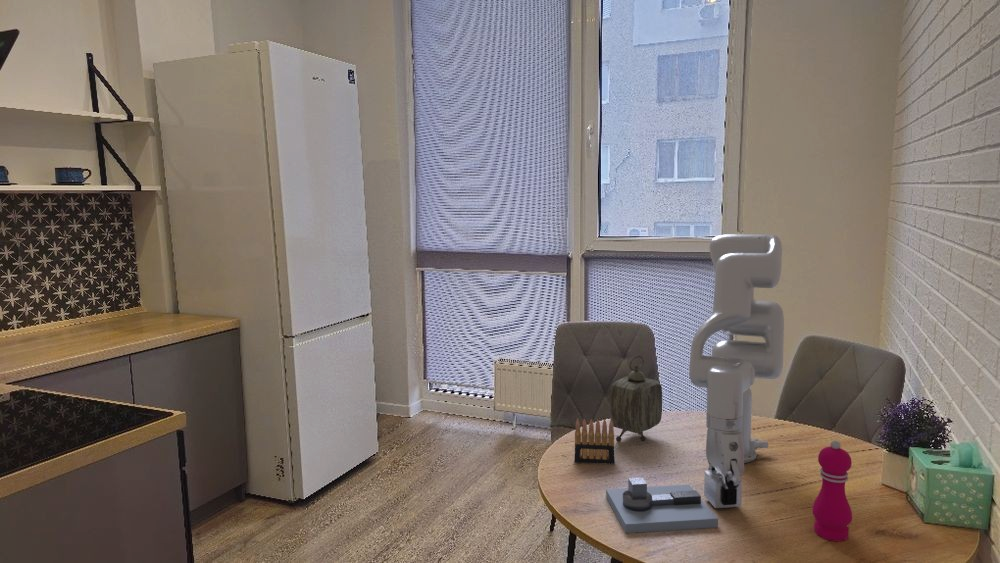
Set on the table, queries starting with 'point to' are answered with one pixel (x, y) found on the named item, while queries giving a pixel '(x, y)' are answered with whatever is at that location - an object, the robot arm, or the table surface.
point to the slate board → (661, 513)
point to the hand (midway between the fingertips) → (722, 496)
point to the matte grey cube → (718, 489)
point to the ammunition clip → (593, 451)
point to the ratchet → (654, 497)
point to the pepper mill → (833, 494)
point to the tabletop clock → (635, 402)
